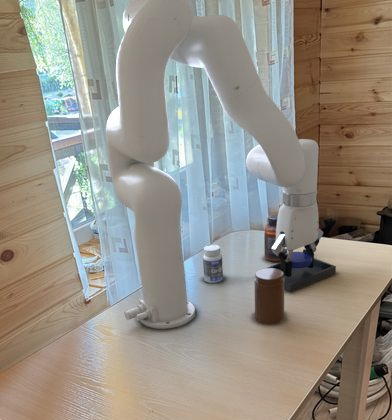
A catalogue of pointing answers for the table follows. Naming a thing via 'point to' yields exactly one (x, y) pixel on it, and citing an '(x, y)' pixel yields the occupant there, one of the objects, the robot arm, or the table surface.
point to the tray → (306, 275)
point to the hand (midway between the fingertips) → (296, 270)
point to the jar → (269, 295)
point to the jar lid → (300, 259)
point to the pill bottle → (212, 264)
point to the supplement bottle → (271, 238)
